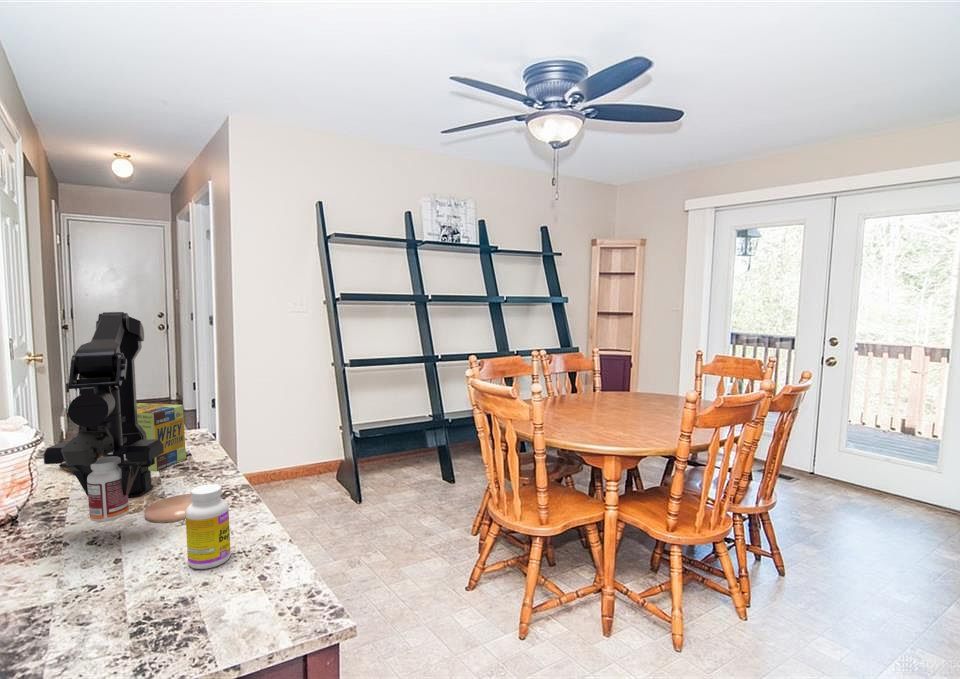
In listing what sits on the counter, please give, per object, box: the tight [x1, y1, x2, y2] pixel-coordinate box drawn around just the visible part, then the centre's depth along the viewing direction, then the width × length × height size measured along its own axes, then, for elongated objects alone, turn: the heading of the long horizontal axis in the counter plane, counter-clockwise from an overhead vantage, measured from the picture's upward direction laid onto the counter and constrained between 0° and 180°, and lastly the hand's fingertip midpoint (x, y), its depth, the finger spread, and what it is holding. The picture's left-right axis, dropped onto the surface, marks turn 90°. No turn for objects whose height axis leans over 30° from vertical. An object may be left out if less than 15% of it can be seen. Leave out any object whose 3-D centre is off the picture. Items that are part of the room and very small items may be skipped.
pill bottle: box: [87, 456, 130, 523], centre depth 102 cm, size 6×6×11 cm
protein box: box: [137, 402, 187, 472], centre depth 146 cm, size 10×15×16 cm
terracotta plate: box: [143, 493, 193, 524], centre depth 116 cm, size 13×13×1 cm
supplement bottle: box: [185, 483, 232, 570], centre depth 93 cm, size 7×7×13 cm
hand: (108, 495), depth 103 cm, fingers closed on pill bottle, 6 cm apart
